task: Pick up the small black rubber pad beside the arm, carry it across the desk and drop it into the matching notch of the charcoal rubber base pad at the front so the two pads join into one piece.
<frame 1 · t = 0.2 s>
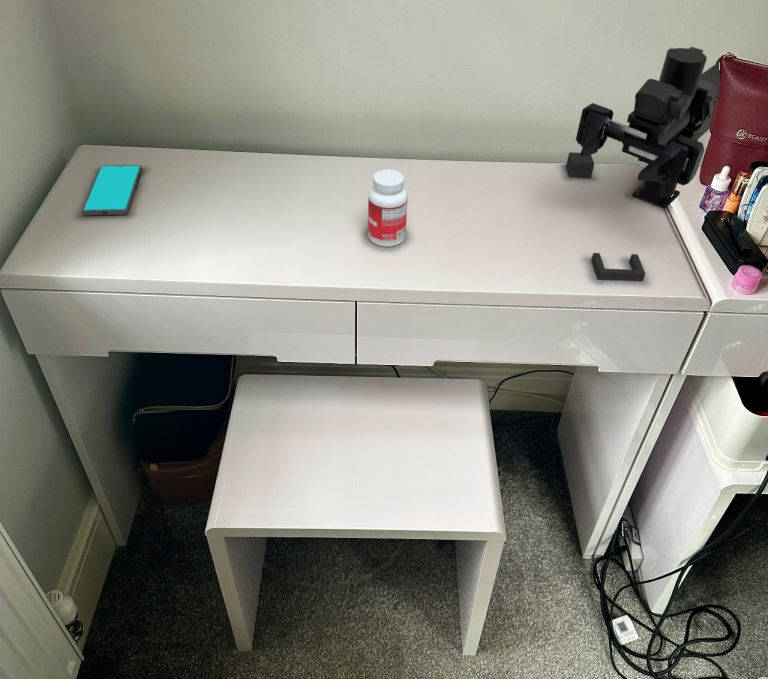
hand: (609, 165, 101), 16 cm above the table, tool horizontal, fingers open, 9 cm apart
pill bottle: (386, 238, 115), on the table
small pad: (578, 172, 132), on the table
base pad: (618, 276, 109), on the table
smartphone: (114, 192, 123), on the table
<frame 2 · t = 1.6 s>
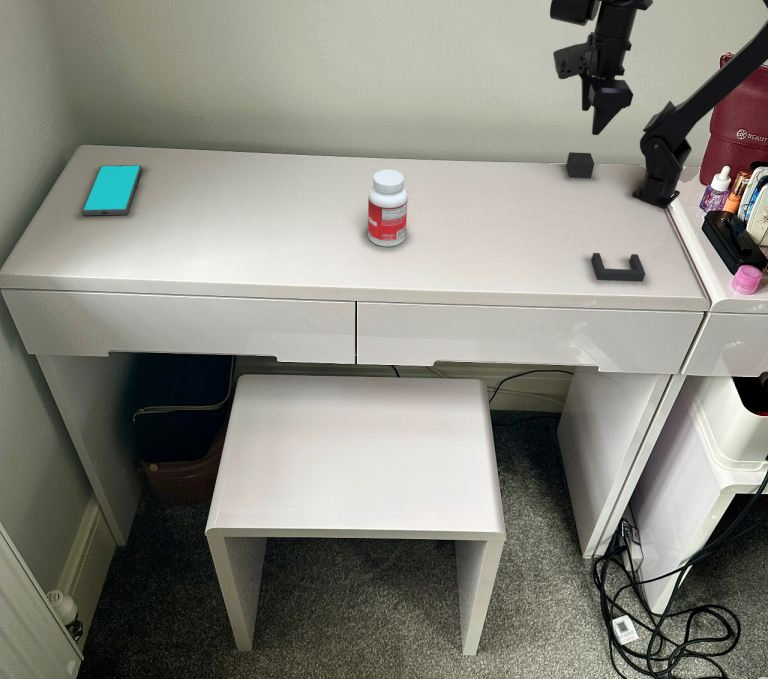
hand: (589, 122, 125), 10 cm above the table, tool pointing down, fingers open, 9 cm apart
nothing on the table moved.
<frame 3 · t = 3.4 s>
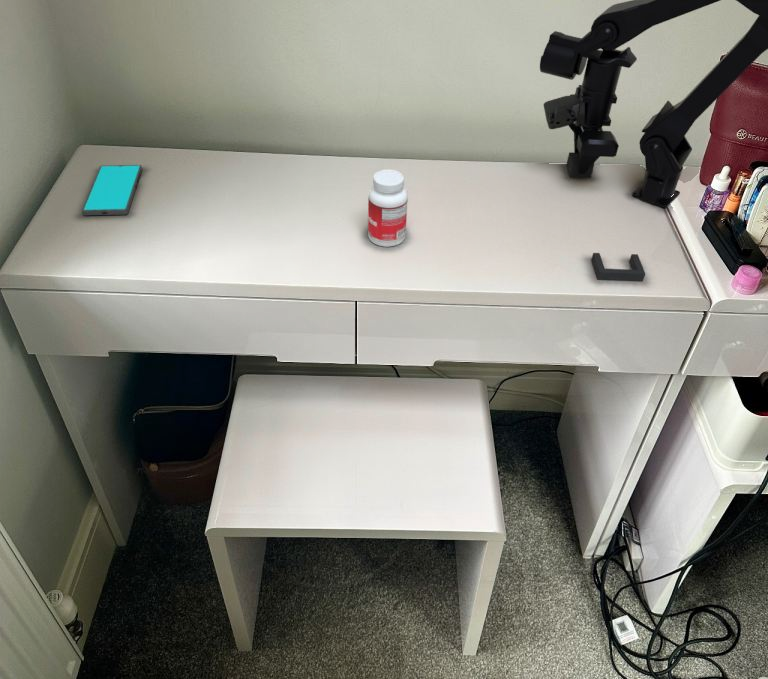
hand: (579, 167, 131), 1 cm above the table, tool pointing down, fingers closed on small pad, 4 cm apart
small pad: (578, 172, 132), on the table, touching gripper
everything else where it was.
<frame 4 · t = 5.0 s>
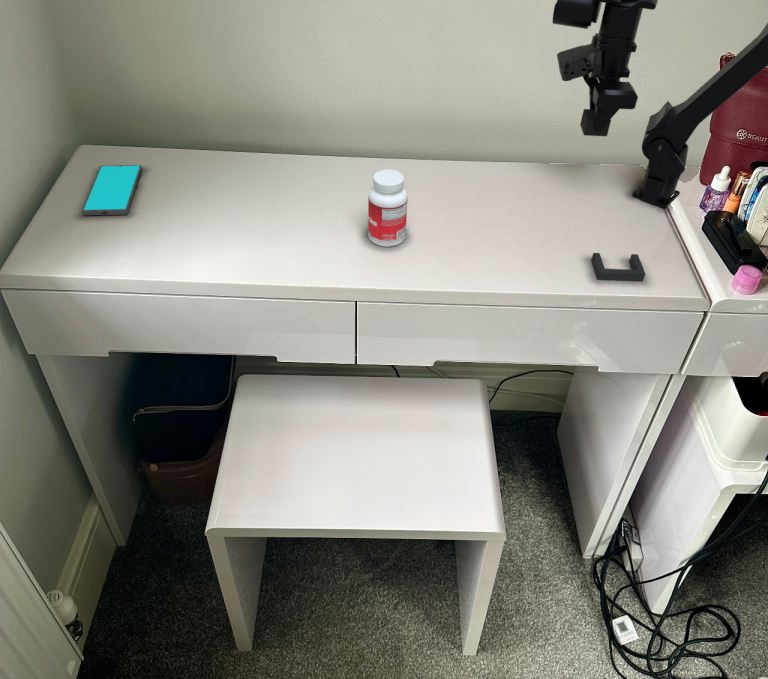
hand: (594, 125, 122), 11 cm above the table, tool pointing down, fingers closed on small pad, 4 cm apart
small pad: (593, 130, 123), point 10 cm above the table, touching gripper
everything else where it was.
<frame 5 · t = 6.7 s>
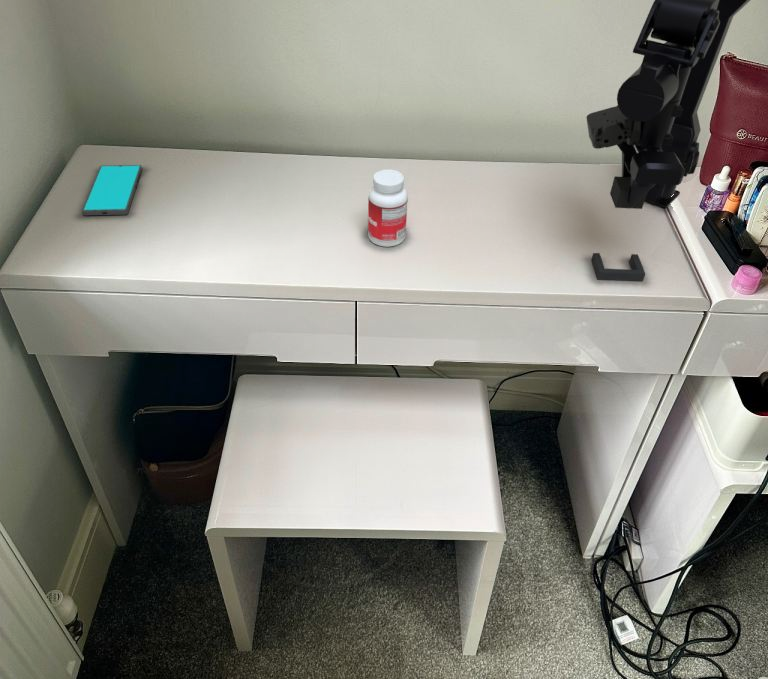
hand: (628, 195, 105), 11 cm above the table, tool pointing down, fingers closed on small pad, 4 cm apart
small pad: (625, 201, 106), point 10 cm above the table, touching gripper
everything else where it was.
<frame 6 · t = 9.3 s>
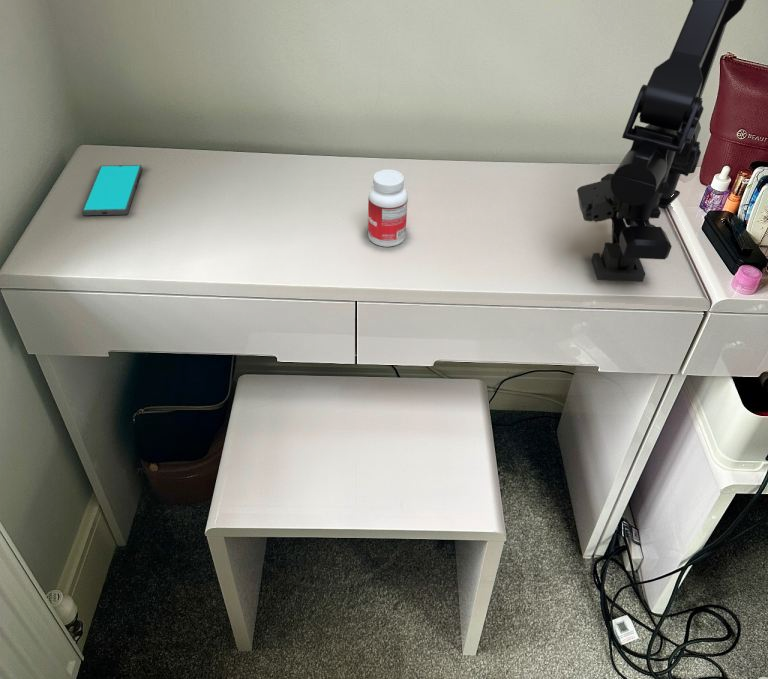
hand: (618, 260, 109), 2 cm above the table, tool pointing down, fingers closed on small pad, 4 cm apart
small pad: (615, 266, 110), point 1 cm above the table, touching gripper
everything else where it was.
when the fingers open (2 cm above the table, at t = 9.9 s): small pad drops 1 cm, on the table.
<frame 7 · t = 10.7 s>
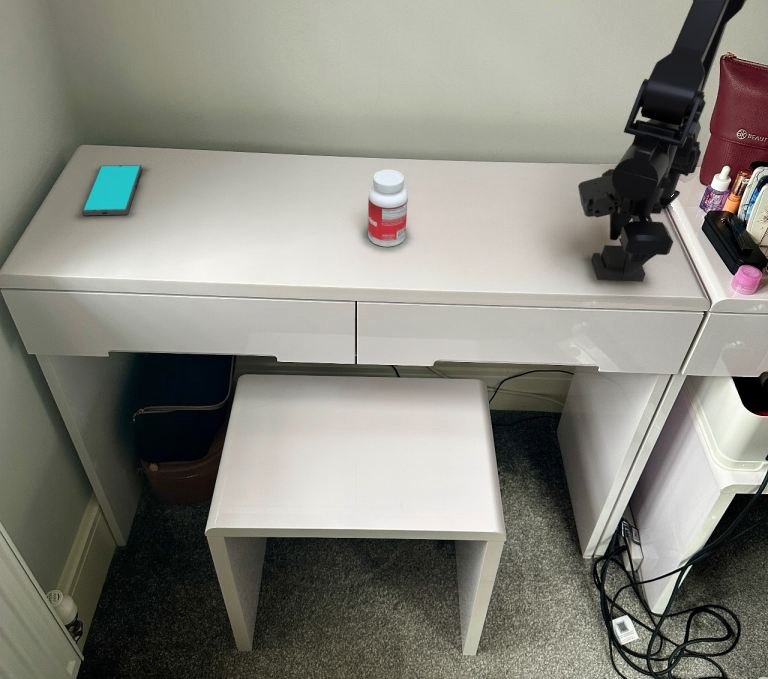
hand: (619, 256, 109), 2 cm above the table, tool pointing down, fingers open, 9 cm apart
small pad: (614, 268, 110), on the table
everything else where it was.
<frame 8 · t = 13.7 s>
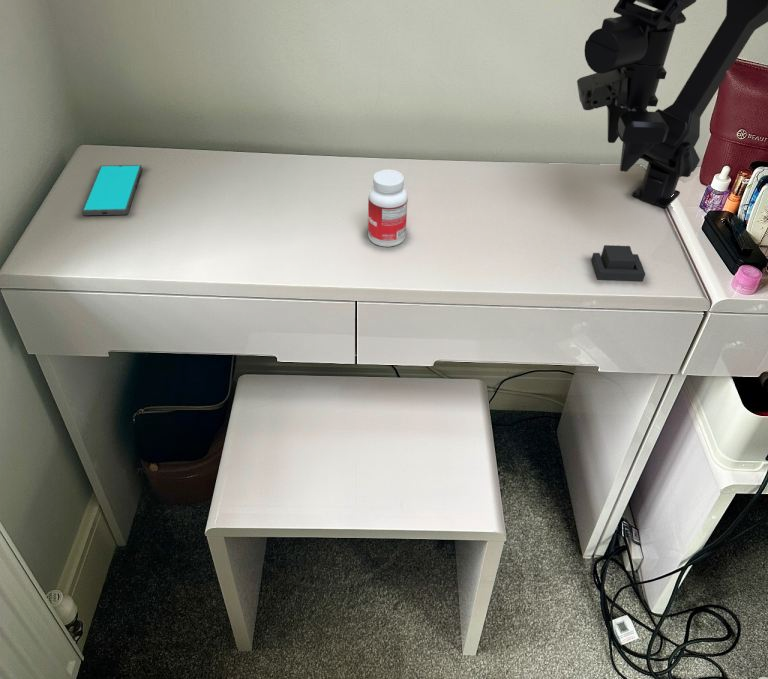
hand: (617, 156, 112), 12 cm above the table, tool pointing down, fingers open, 9 cm apart
nothing on the table moved.
at the end: small pad 0.2 cm from the target spot on the base pad, point 0.0 cm above the base pad's base; small pad tilted 0°; the gripper is holding nothing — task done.
